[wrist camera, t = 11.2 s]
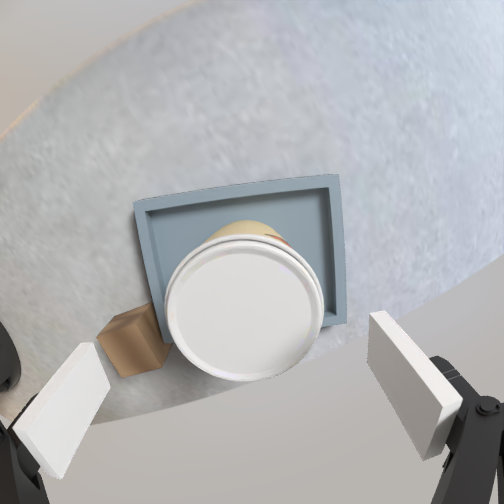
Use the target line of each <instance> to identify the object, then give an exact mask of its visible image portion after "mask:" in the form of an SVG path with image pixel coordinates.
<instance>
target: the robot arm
mask: <svg viewBox="0 0 504 504" xmlns="http://www.w3.org/2000/svg"><path fill="white" fill-rule="evenodd" d="M367 363H368V365H369V367H370V368H371V370H372V372H373V373H374V375H375V377H376V378H377V380H378V382H379V383H380V385H381V387H382V389H383V390H384V392H385V394H386V395H387V397H388V399H389V401H390V403H391V404H392V406H393V408H394V409H395V411H396V413H397V415H398V417H399V418H400V420H401V422H402V424H403V426H404V427H405V429H406V431H407V433H408V435H409V436H410V438H411V440H412V442H413V444H414V446H415V447H416V449H417V451H418V453H419V455H420V457H421V458H422V460H423V461H424V460H427V459H429V458H432V457H434V456H437V455H439V454H441V453H442V451H443V449H444V446H445V444H447V446H448V447H449V449H450V452H449V454H448V456H447V459H446V461H445V463H444V465H443V468H444V470H443V472H442V475H441V479H440V481H439V484H438V487H437V489H436V492H435V494H434V497H433V499H432V502H431V504H489V501H490V497H491V493H492V488H493V484H494V479H495V474H496V468H497V477H498V478H497V479H498V503H499V504H504V403H500V402H499V400H497V399H495V398H494V397H490V396H480V395H479V394H478V393H477V392H476V391H475V390H474V389H473V388H472V386H471V385H470V384H469V383H468V382H467V381H466V380H465V379H464V378H463V377H462V376H460V373H459V372H458V371H457V370H455V368H454V367H453V366H452V365H451V364H450V363H449V362H448V361H447V360H445V359H443V358H441V357H439V356H435V357H431V358H428V357H427V356H426V355H425V354H424V353H423V352H422V351H421V349H420V348H419V347H418V346H417V345H416V344H415V343H414V342H413V341H412V339H411V338H410V337H409V336H408V335H407V334H406V333H405V332H404V331H403V330H402V329H401V328H400V326H399V325H398V324H397V323H396V322H395V321H394V320H393V319H392V318H391V317H390V316H389V314H388V313H387V312H386V311H385V310H384V311H379V312H374V313H370V315H369V340H368V358H367ZM20 375H21V367H20V361H19V357H18V354H17V351H16V349H15V347H14V344H13V342H12V340H11V338H10V336H9V335H8V333H7V331H6V330H5V328H4V326H3V325H2V324H1V322H0V394H1V393H4V392H6V391H8V390H10V389H11V388H12V387H13V386H14V385H15V384H16V383H17V382H18V381H19V379H20ZM110 387H111V386H110V384H109V381H108V379H107V377H106V374H105V372H104V369H103V367H102V364H101V362H100V359H99V357H98V354H97V351H96V349H95V346H94V343H80V344H79V346H78V347H77V348H76V349H75V350H74V351H73V353H72V354H71V355H70V356H69V357H68V358H67V360H66V361H65V362H64V363H63V364H62V366H61V367H60V368H59V369H58V370H57V372H56V373H55V374H54V375H53V376H52V378H51V379H50V380H49V381H48V383H47V384H46V385H45V386H44V387H43V389H42V390H41V391H40V392H39V393H37V394H36V395H35V396H33V397H32V398H31V399H30V400H29V402H28V403H27V404H26V406H25V407H24V408H23V409H22V412H20V413H19V414H18V416H17V417H16V418H15V419H14V421H13V422H12V423H11V425H10V426H9V427H8V429H7V430H6V428H5V427H4V425H3V424H2V422H1V421H0V504H50V503H49V500H48V497H47V494H46V491H45V487H44V484H43V480H42V477H41V475H40V474H39V472H38V470H39V468H40V467H41V468H42V469H43V470H44V471H45V473H46V474H47V475H48V476H51V477H55V478H58V479H62V478H63V476H64V474H65V472H66V470H67V468H68V466H69V464H70V462H71V460H72V458H73V456H74V454H75V452H76V450H77V448H78V446H79V444H80V442H81V441H82V439H83V437H84V435H85V433H86V431H87V429H88V427H89V425H90V424H91V422H92V420H93V418H94V416H95V414H96V413H97V411H98V409H99V407H100V405H101V403H102V402H103V400H104V398H105V396H106V394H107V393H108V391H109V389H110Z"/></svg>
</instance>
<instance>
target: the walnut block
mask: <svg viewBox="0 0 504 504" xmlns="http://www.w3.org/2000/svg"><path fill="white" fill-rule="evenodd" d="M96 338H97V339H98V341H99V343H100V344H101V346H102V348H103V349H104V351H105V353H106V354H107V356H108V357H109V359H110V360H111V362H112V364H113V365H114V367H115V368H116V370H117V371H118V373H119V374H120V376H121V377H122V378H123V377H127V376H131V375H135V374H139V373H143V372H147V371H151V370H155V369H159V368H162V366H163V364H164V362H165V359H166V357H167V355H168V353H169V350H170V348H171V346H172V343H164V341H163V337H162V333H161V330H160V326H159V322H158V319H157V315H156V311H155V308H154V306H153V304H152V303H149V304H146V305H144V306H141V307H138V308H135V309H133V310H130V311H127V312H125V313H122V314H119V315H116V316H114V318H113V319H112V320H111V321H110V322H109V323H108V324H107V325H106V327H105V328H104V329H103V330H102V331H101V332H100V333H99V335H98V336H97V337H96Z"/></svg>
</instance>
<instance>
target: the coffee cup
mask: <svg viewBox="0 0 504 504" xmlns="http://www.w3.org/2000/svg"><path fill="white" fill-rule="evenodd" d="M164 308H165V317H166V322H167V326H168V329H169V331H170V333H171V336H172V338H173V340H174V342H175V344H176V345H177V347H178V348H179V350H180V351H181V352H182V354H183V355H184V356H185V357H186V358H187V359H188V360H189V361H190V362H191V363H192V364H194V365H195V366H196V367H198V368H199V369H201V370H203V371H204V372H206V373H208V374H210V375H213V376H215V377H218V378H222V379H225V380H230V381H239V382H251V381H259V380H264V379H268V378H271V377H274V376H277V375H279V374H281V373H283V372H285V371H287V370H289V369H290V368H292V367H293V366H294V365H296V364H297V363H298V362H299V361H300V360H301V359H302V358H303V357H304V356H305V355H306V354H307V353H308V351H309V350H310V348H311V347H312V345H313V344H314V342H315V340H316V338H317V336H318V334H319V332H320V329H321V326H322V322H323V316H324V300H323V294H322V290H321V286H320V284H319V281H318V279H317V277H316V275H315V273H314V271H313V270H312V268H311V267H310V265H309V264H308V263H307V262H306V261H305V259H303V258H302V257H301V256H300V255H299V254H298V253H297V252H296V251H294V250H293V249H292V247H291V246H290V245H289V244H288V243H287V242H286V241H285V240H284V239H283V238H282V237H281V235H280V234H278V233H277V232H276V231H275V230H274V229H273V228H271V227H270V226H268V225H266V224H264V223H261V222H258V221H253V220H240V221H235V222H232V223H229V224H227V225H225V226H223V227H222V228H220V229H219V230H218V231H216V232H215V233H214V234H213V235H212V236H211V237H209V238H208V239H207V240H206V241H205V242H204V243H203V244H202V245H200V246H199V247H197V248H196V249H194V250H193V251H192V252H190V253H189V254H188V255H187V256H186V257H185V258H184V259H183V260H182V261H181V262H180V264H179V265H178V266H177V267H176V269H175V271H174V272H173V274H172V276H171V278H170V281H169V283H168V286H167V290H166V295H165V304H164Z"/></svg>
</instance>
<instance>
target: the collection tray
mask: <svg viewBox="0 0 504 504" xmlns="http://www.w3.org/2000/svg"><path fill="white" fill-rule="evenodd" d="M133 206H134V212H135V218H136V223H137V229H138V234H139V239H140V244H141V249H142V254H143V259H144V264H145V268H146V273H147V278H148V282H149V286H150V290H151V295H152V299H153V303H154V307H155V311H156V315H157V319H158V322H159V326H160V330H161V333H162V337H163V341H164V343H175V342H174V340H173V338H172V336H171V333H170V331H169V329H168V326H167V322H166V317H165V308H164V304H165V295H166V290H167V286H168V283H169V281H170V278H171V276H172V274H173V272H174V271H175V269H176V267H177V266H178V265H179V264H180V262H181V261H182V260H183V259H184V258H185V257H186V256H187V255H188V254H189V253H190V252H192V251H193V250H194V249H196V248H197V247H199V246H200V245H202V244H203V243H204V242H205V241H206V240H207V239H208V238H209V237H211V236H212V235H213V234H214V233H215V232H216V231H218V230H219V229H220V228H222V227H223V226H225V225H227V224H229V223H232V222H235V221H240V220H253V221H258V222H261V223H264V224H266V225H268V226H270V227H271V228H273V229H274V230H275V231H276V232H277V233H278V234H280V235H281V237H282V238H283V239H284V240H285V241H286V242H287V243H288V244H289V245H290V246H291V247H292V249H293V250H294V251H296V252H297V253H298V254H299V255H300V256H301V257H302V258H303V259H305V261H306V262H307V263H308V264H309V265H310V267H311V268H312V270H313V271H314V273H315V275H316V277H317V279H318V281H319V284H320V286H321V290H322V294H323V300H324V316H323V322H322V326H321V327H326V326H333V325H339V324H345V323H347V302H346V266H345V245H344V228H343V214H342V202H341V191H340V180H339V174H329V175H318V176H307V177H297V178H287V179H278V180H269V181H261V182H253V183H245V184H237V185H230V186H223V187H216V188H209V189H202V190H196V191H189V192H183V193H177V194H171V195H165V196H160V197H154V198H148V199H143V200H139V201H135V202H133Z"/></svg>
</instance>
